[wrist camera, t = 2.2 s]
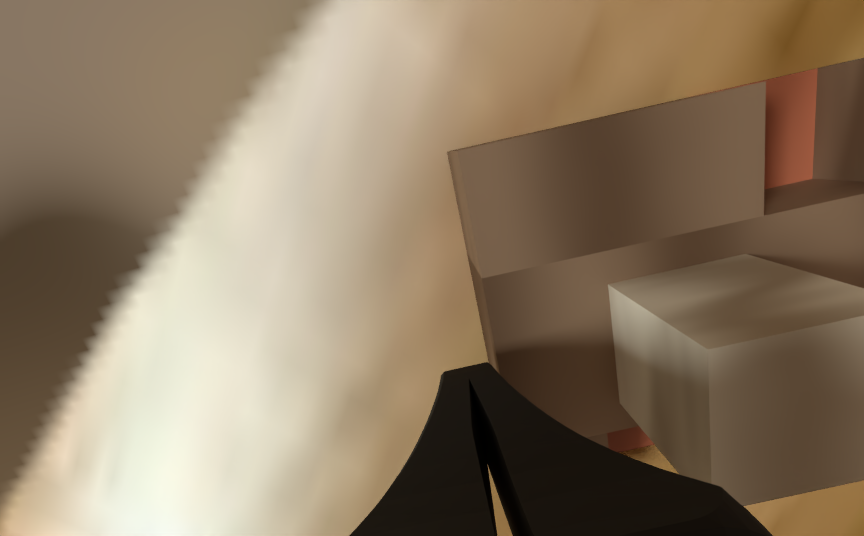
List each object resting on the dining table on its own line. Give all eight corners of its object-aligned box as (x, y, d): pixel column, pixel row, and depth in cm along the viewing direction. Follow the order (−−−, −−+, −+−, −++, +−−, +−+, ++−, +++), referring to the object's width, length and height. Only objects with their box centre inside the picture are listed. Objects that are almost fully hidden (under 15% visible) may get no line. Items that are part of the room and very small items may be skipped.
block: (745, 253, 11) (916, 303, 8) (745, 375, 12) (894, 473, 9) (608, 284, 11) (707, 349, 8) (619, 403, 13) (711, 512, 9)
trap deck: (991, 29, 13) (1255, -29, 9) (937, 376, 17) (1108, 448, 12) (447, 151, 13) (463, 150, 9) (510, 469, 17) (541, 570, 13)
